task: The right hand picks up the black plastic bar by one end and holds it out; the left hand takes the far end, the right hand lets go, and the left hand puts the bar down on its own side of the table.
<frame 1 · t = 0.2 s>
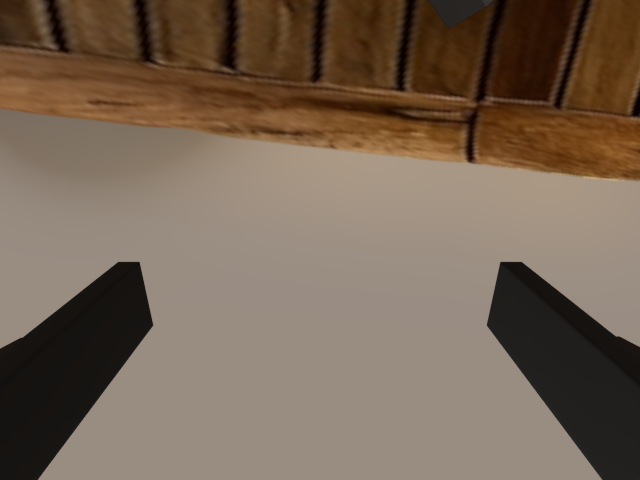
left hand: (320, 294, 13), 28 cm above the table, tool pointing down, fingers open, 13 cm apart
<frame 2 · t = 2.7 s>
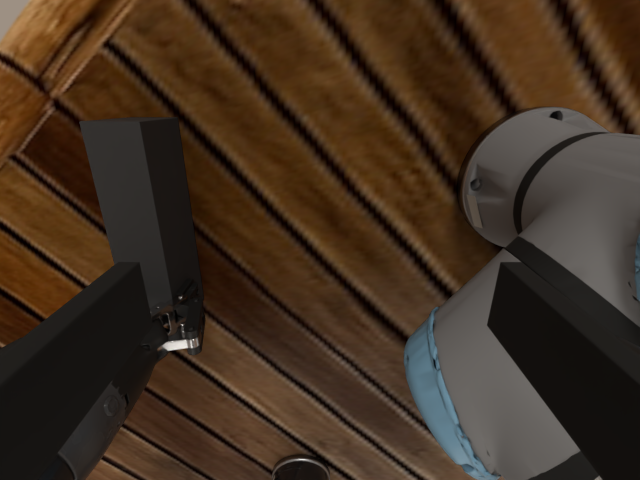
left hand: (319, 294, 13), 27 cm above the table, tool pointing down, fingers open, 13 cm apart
bar: (171, 217, 40), on the table, touching right hand
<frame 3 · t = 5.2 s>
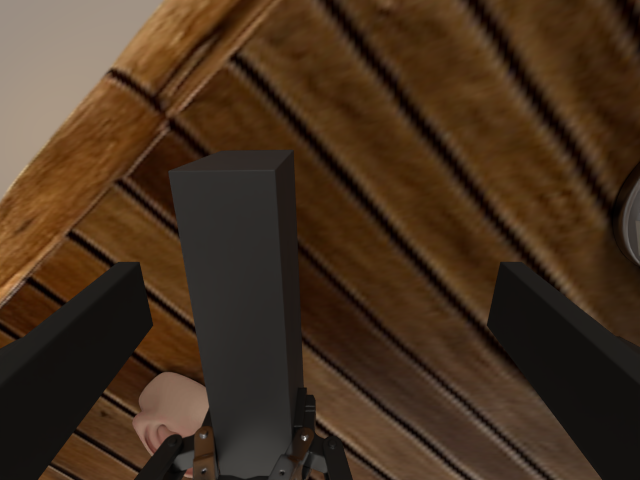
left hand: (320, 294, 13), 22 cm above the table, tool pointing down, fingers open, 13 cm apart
anatomical model: (183, 412, 45), on the table
bar: (268, 291, 27), point 10 cm above the table, touching right hand
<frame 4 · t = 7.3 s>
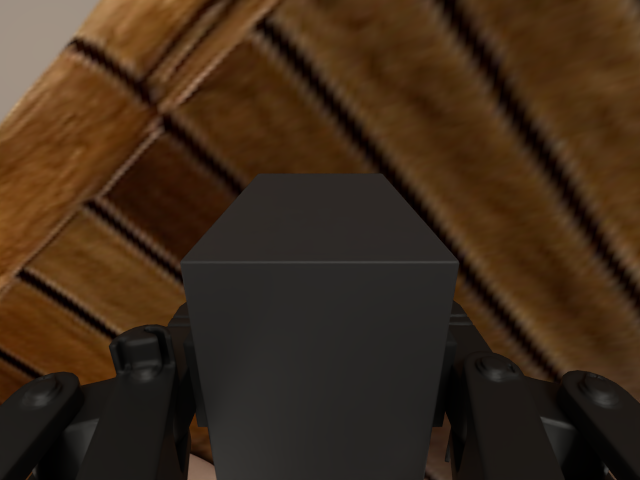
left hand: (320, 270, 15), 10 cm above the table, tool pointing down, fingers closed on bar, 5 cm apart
bar: (320, 385, 18), point 10 cm above the table, touching left hand, right hand
when the right hand's fingers open (13 cm above the table, at t = 8.0 s): bar stays where it is, held by the left hand.
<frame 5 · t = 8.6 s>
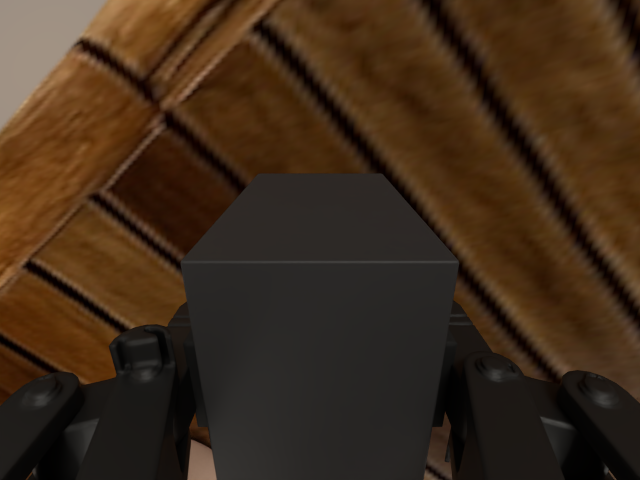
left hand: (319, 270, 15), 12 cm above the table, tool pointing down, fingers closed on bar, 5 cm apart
anatomical model: (180, 475, 37), on the table
bar: (320, 385, 18), point 11 cm above the table, touching left hand
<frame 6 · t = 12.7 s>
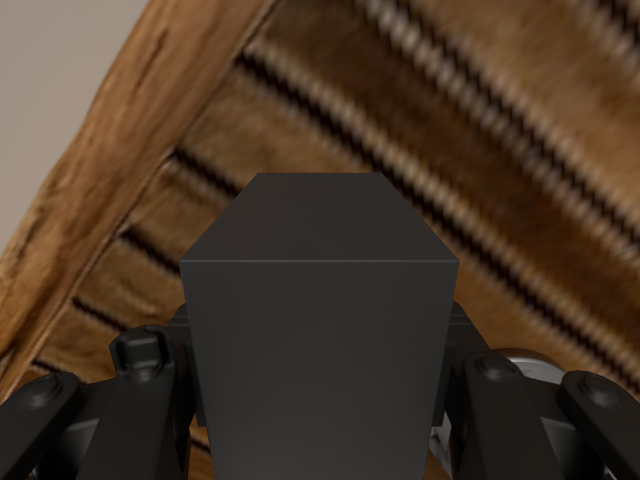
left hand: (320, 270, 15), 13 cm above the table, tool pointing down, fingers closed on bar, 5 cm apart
bar: (319, 385, 18), point 13 cm above the table, touching left hand
when the left hand's fingers open (2 cm above the table, at t = 18.3 s): bar drops 1 cm, on the table.
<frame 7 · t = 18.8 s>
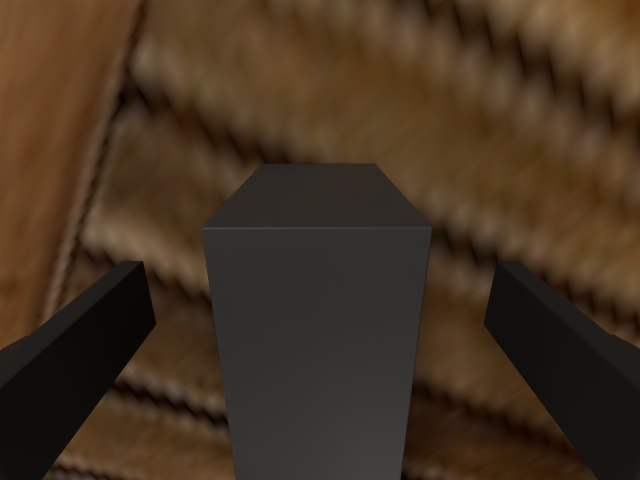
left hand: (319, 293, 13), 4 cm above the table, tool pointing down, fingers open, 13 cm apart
bar: (319, 363, 19), on the table
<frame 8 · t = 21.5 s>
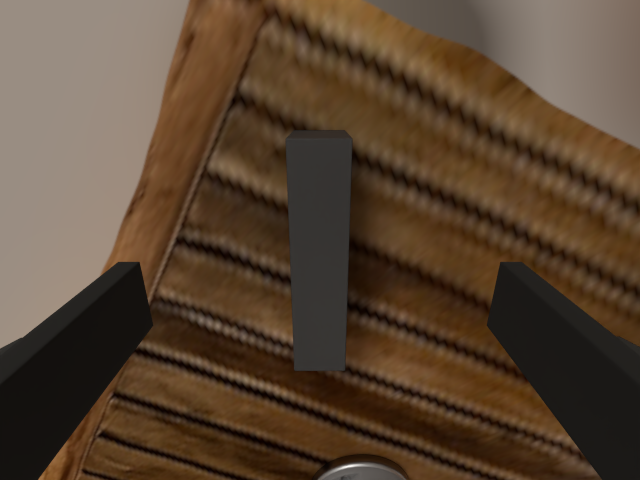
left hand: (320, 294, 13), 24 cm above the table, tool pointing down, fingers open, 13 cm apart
bar: (319, 236, 37), on the table
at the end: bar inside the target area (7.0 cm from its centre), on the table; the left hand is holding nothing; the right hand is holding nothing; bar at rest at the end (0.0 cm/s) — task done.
